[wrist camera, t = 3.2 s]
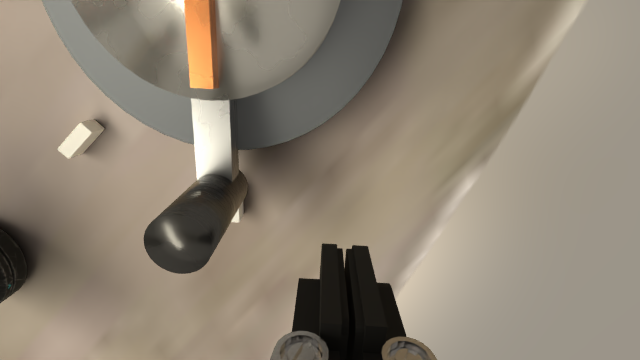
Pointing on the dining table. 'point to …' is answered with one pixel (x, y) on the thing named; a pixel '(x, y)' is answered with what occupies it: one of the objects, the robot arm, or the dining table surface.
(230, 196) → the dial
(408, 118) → the dining table surface
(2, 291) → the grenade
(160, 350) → the dining table surface
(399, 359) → the robot arm
